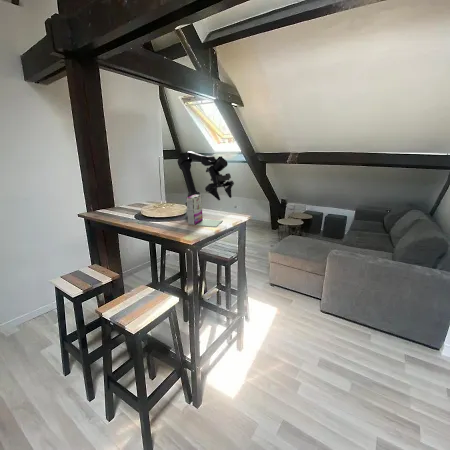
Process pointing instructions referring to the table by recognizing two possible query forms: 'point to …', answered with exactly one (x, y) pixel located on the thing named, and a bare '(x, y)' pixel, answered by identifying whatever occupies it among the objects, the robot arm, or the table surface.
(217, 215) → the table surface
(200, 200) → the candy bar box
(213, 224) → the mat
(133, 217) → the table surface
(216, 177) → the robot arm
